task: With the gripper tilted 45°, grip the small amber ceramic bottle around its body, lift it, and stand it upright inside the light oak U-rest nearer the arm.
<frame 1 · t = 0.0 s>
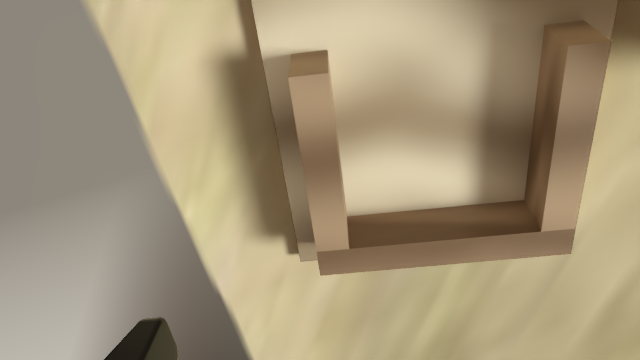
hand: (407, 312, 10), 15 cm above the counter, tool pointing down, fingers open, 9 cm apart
u rest: (432, 125, 24), on the counter
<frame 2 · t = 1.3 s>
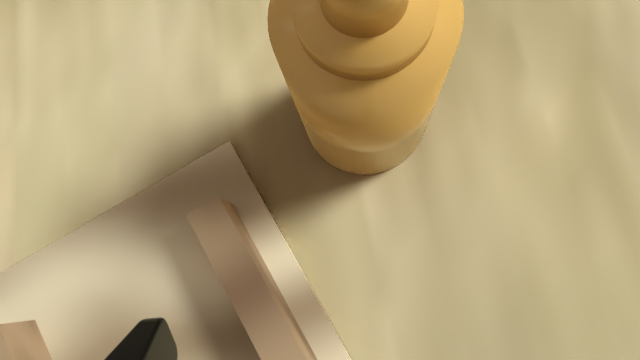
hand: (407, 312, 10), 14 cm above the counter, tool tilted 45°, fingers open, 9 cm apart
u rest: (167, 357, 23), on the counter
amber bottle: (364, 115, 24), on the counter
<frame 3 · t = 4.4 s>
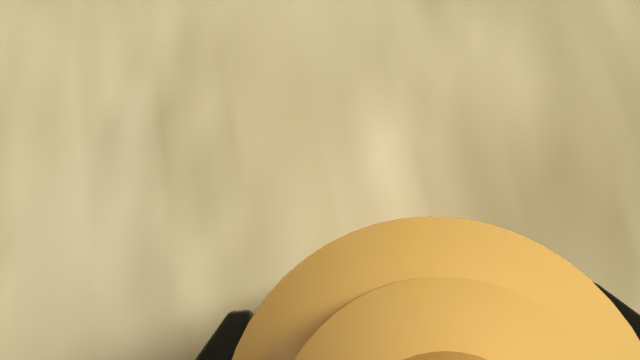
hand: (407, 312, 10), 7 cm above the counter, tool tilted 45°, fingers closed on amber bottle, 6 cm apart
amber bottle: (395, 347, 16), on the counter, touching gripper
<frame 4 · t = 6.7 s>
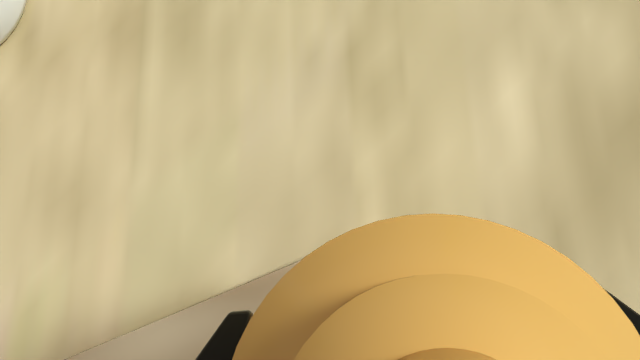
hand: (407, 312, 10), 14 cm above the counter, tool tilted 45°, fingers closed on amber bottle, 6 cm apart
amber bottle: (396, 345, 16), point 7 cm above the counter, touching gripper
when the fingers open (8 cm above the counter, at t = 9.0 s): amber bottle drops 1 cm, resting on u rest.
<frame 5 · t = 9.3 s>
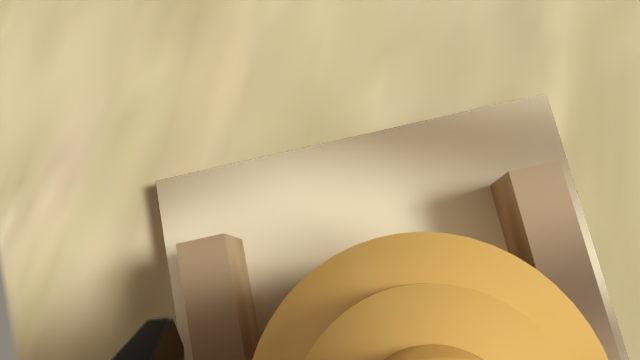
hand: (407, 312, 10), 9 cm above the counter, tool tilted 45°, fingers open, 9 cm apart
u rest: (392, 339, 18), on the counter
amber bottle: (394, 344, 17), point 1 cm above the counter, touching u rest
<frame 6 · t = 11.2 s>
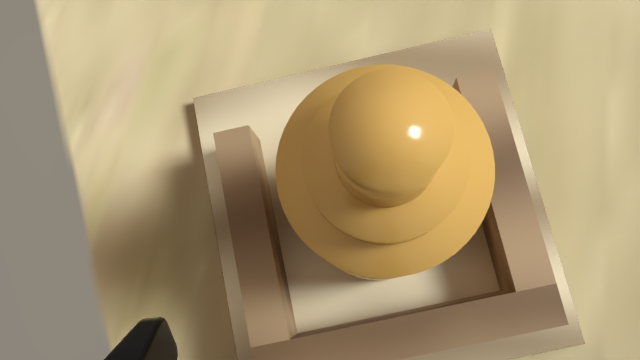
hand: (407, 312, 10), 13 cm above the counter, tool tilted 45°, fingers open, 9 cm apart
u rest: (374, 213, 24), on the counter
amber bottle: (374, 214, 23), point 1 cm above the counter, touching u rest
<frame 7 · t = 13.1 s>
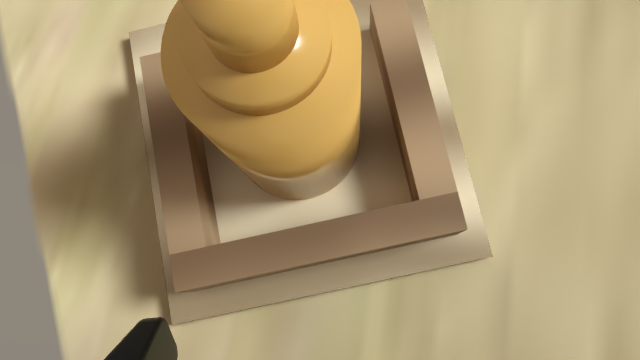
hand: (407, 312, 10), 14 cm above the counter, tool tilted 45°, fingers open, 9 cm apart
u rest: (299, 139, 25), on the counter
amber bottle: (297, 138, 24), point 1 cm above the counter, touching u rest
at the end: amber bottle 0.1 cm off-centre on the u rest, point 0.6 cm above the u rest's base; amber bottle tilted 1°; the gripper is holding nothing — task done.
